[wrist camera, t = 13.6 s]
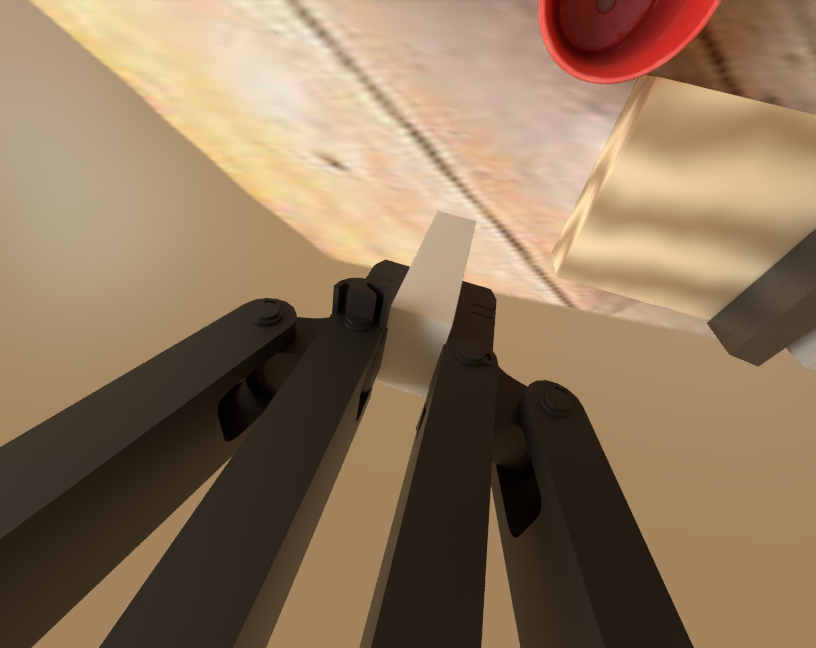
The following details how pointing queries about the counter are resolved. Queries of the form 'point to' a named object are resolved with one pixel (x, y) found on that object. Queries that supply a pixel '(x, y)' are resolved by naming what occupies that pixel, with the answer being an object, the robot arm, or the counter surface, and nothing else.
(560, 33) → the flower pot
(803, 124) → the stool seat
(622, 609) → the robot arm
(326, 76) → the counter surface
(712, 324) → the folding leg
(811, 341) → the block
